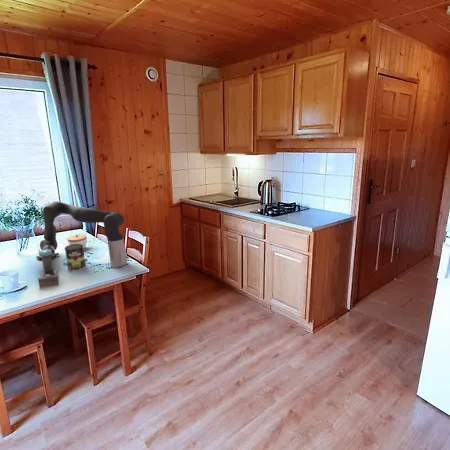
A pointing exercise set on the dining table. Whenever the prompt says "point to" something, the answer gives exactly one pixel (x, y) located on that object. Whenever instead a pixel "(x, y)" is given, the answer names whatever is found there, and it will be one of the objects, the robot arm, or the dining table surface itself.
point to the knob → (47, 261)
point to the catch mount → (48, 279)
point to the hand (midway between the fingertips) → (47, 261)
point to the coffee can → (75, 257)
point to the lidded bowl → (78, 240)
